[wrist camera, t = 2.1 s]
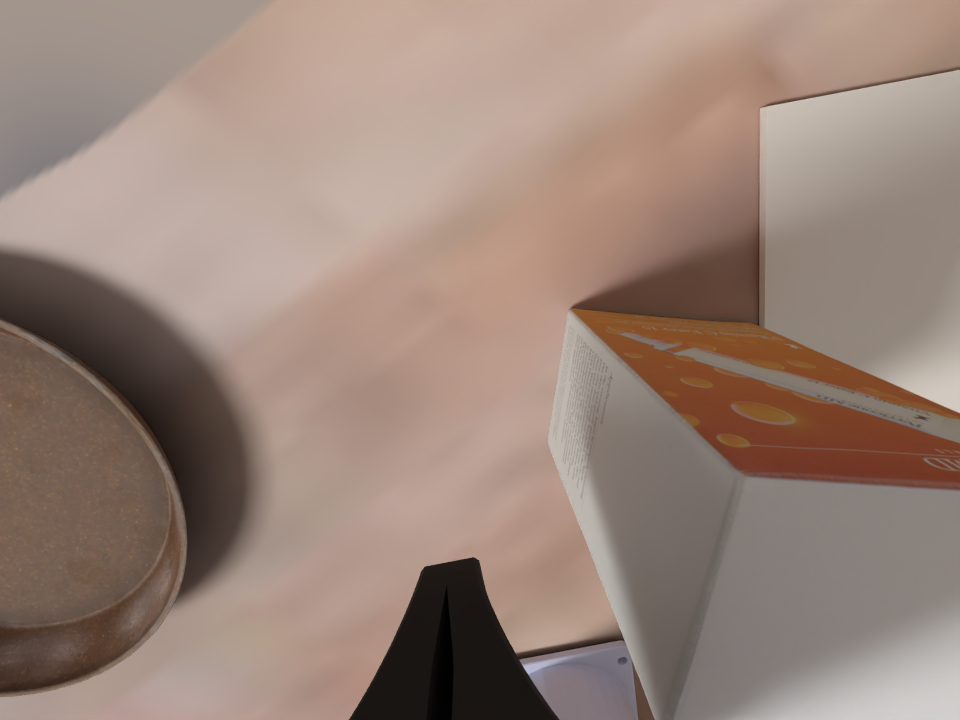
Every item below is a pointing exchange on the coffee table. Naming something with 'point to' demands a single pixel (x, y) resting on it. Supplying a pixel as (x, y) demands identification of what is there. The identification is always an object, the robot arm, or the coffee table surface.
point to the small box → (763, 520)
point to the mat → (867, 230)
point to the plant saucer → (78, 520)
